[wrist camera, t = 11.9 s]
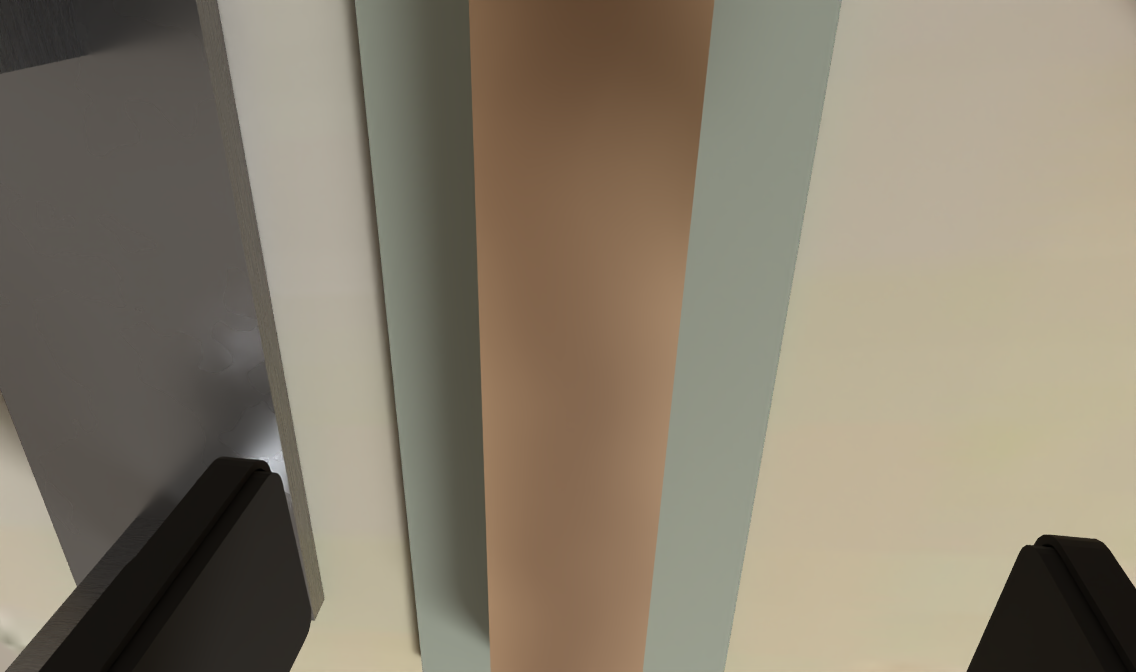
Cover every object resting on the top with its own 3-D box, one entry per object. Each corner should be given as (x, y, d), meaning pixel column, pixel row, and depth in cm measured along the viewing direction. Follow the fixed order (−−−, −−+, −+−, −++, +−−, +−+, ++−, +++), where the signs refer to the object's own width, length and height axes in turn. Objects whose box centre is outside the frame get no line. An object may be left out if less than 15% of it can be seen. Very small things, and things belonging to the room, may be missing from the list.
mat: (887, -320, 12) (900, -333, 11) (716, 685, 23) (718, 703, 23) (333, -324, 12) (320, -335, 12) (428, 663, 24) (423, 679, 23)
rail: (717, -254, 12) (749, -320, 9) (629, 673, 22) (629, 790, 19) (501, -258, 12) (458, -323, 9) (512, 663, 23) (494, 778, 19)
